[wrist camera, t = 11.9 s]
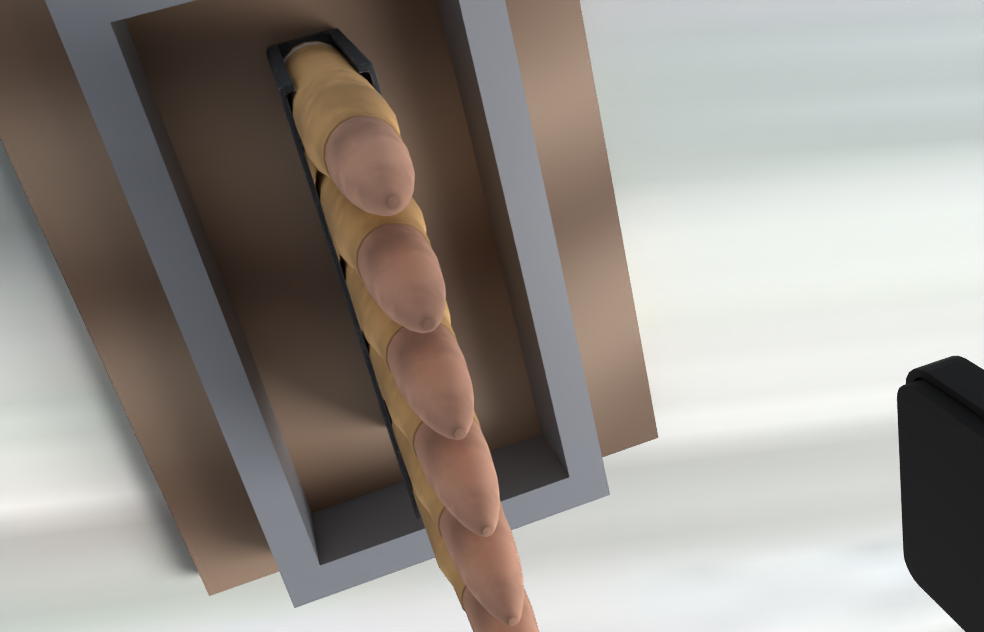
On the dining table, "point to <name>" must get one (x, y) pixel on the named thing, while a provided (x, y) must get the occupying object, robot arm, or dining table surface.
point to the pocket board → (326, 261)
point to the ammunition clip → (401, 318)
